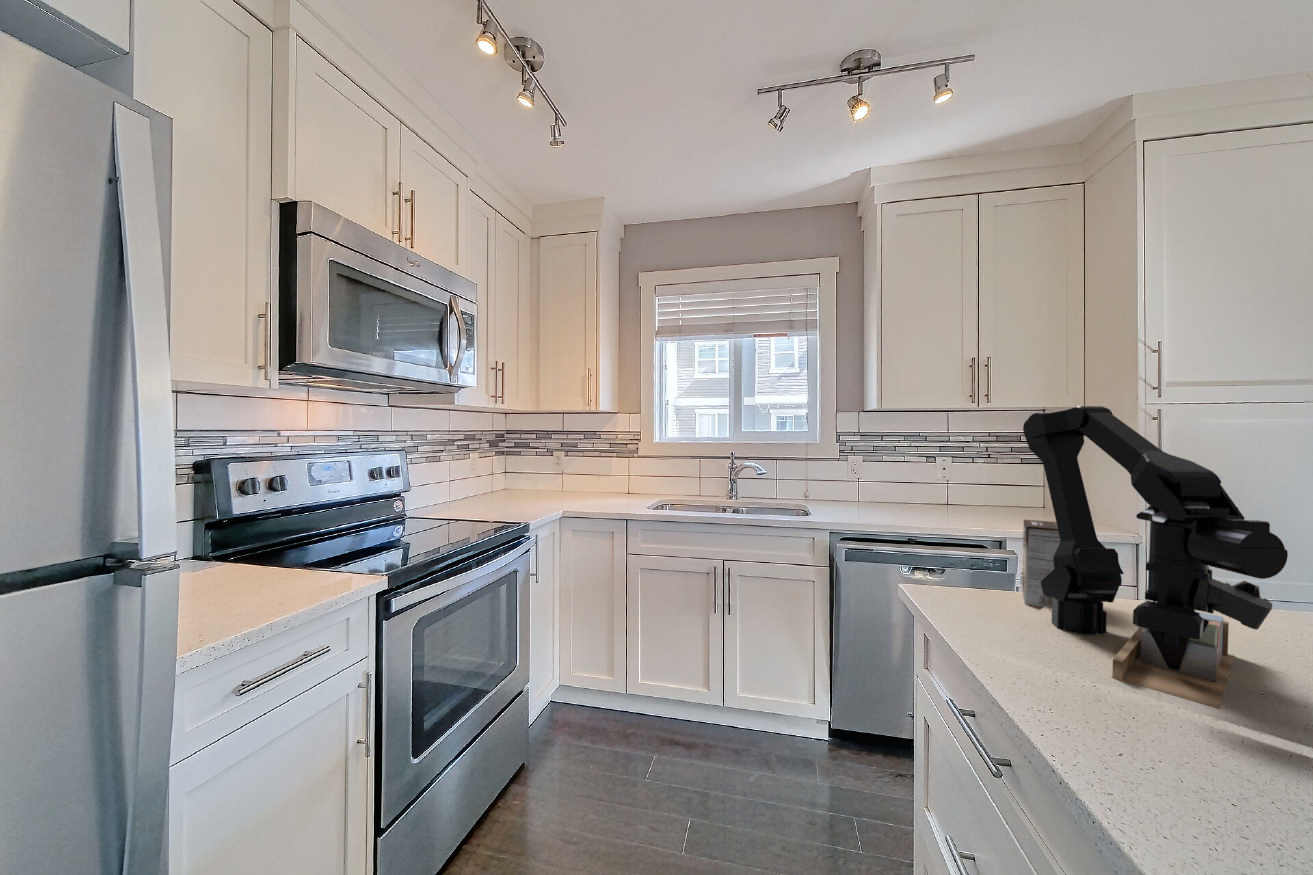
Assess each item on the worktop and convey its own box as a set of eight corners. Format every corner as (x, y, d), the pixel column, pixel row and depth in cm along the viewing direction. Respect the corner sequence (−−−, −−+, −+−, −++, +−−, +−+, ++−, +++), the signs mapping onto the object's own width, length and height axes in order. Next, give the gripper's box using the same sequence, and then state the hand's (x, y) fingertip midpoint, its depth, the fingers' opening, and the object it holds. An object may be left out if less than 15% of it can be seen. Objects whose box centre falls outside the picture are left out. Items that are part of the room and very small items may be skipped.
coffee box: (1020, 592, 111) (1022, 518, 111) (1058, 597, 108) (1060, 521, 108) (1024, 604, 103) (1026, 525, 103) (1064, 611, 100) (1066, 528, 100)
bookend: (1216, 681, 70) (1217, 649, 70) (1140, 661, 76) (1141, 631, 76) (1217, 678, 71) (1218, 646, 71) (1142, 658, 77) (1143, 628, 77)
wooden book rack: (1218, 716, 63) (1220, 668, 63) (1112, 684, 71) (1113, 641, 71) (1234, 662, 78) (1235, 623, 78) (1144, 640, 86) (1145, 604, 86)
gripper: (1264, 583, 59) (1259, 717, 60) (1270, 559, 71) (1266, 672, 71) (1133, 562, 68) (1130, 679, 68) (1158, 544, 80) (1155, 644, 80)
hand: (1173, 668), depth 72 cm, fingers closed
